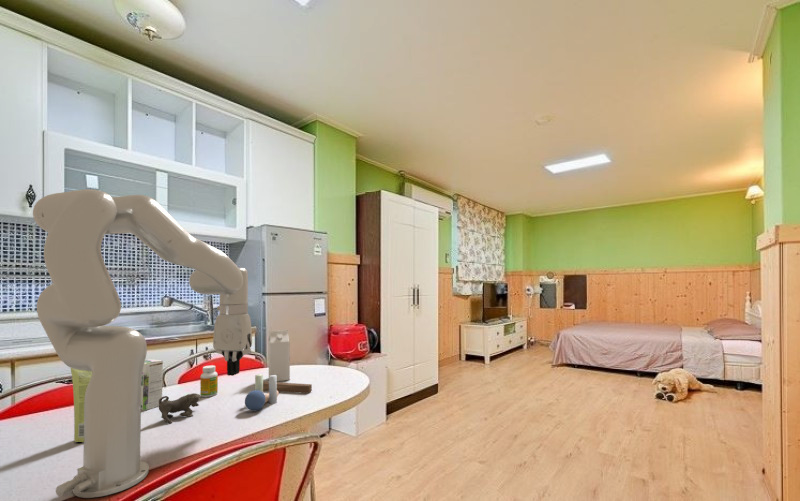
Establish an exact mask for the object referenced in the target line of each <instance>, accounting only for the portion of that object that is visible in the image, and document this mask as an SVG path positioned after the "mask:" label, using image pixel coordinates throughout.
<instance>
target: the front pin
mask: <svg viewBox="0 0 800 501" xmlns="http://www.w3.org/2000/svg"><path fill="white" fill-rule="evenodd" d="M279 392H280V391H278V390H277V397H278V396H279ZM264 395H265V404H267V403H269V392H268V393H266V394H264Z"/></svg>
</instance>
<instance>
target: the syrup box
mask: <svg viewBox="0 0 800 501" xmlns="http://www.w3.org/2000/svg"><path fill="white" fill-rule="evenodd" d="M163 364H164V360H160V359H159V360H158V359H152V358H151V359H145V363H144V367H143V372H142V381H141V411H149V410H151V409H152V410H153V409H154V408H157V407H159V399H160V398H162V397H163V380H164V379H163V377H164V376H163V375H164V374H163V373H164V372H163V371H164V370H163V366H164V365H163Z"/></svg>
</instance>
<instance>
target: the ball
mask: <svg viewBox="0 0 800 501" xmlns="http://www.w3.org/2000/svg"><path fill="white" fill-rule="evenodd" d="M265 395H266V394H265V393H264V391H263V392H261V391H259V390H255V389H254V390H251V391H249V392H248V393H247V394H246V396H245V398H244V406H245V407H246V409H247V410H248V411H252V412H255V411H258V410H259V411H260V410H261V409H262V408H263V407H264V406H265V404H266V403H265Z"/></svg>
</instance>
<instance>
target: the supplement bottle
mask: <svg viewBox="0 0 800 501" xmlns="http://www.w3.org/2000/svg"><path fill="white" fill-rule="evenodd" d="M218 377H219V376H218V372H217V371H216V365H213V364H211V365H206V366H205V365H204V366H203V367H202V373H201V375H200V378H199V379H200V383H199V384H200V385H199V386H200V388H199V390H200V393H199V395H200V397H202V398H210V397H214V396H216V395H218V389H219V387H218V384H219V382H218Z"/></svg>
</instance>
